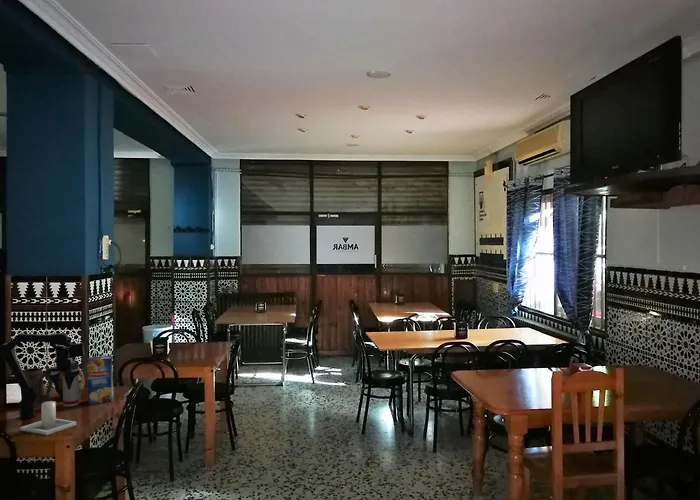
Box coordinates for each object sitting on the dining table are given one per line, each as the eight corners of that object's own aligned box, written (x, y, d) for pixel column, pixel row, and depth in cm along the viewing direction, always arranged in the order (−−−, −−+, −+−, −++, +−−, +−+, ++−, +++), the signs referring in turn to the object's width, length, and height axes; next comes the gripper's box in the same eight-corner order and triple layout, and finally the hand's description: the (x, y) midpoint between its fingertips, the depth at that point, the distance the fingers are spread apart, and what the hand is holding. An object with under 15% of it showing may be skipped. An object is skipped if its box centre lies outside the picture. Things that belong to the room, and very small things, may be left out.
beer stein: (17, 409, 312) (19, 371, 312) (23, 404, 322) (24, 367, 322) (49, 408, 316) (51, 371, 316) (54, 403, 326) (55, 367, 327)
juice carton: (88, 403, 320) (86, 359, 320) (90, 400, 327) (89, 357, 327) (111, 401, 323) (110, 358, 323) (113, 398, 330) (112, 355, 330)
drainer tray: (20, 430, 275) (20, 427, 275) (51, 420, 290) (51, 417, 290) (46, 435, 267) (46, 431, 267) (76, 425, 282) (76, 421, 282)
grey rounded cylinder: (40, 425, 279) (40, 402, 279) (55, 423, 283) (54, 400, 283) (42, 428, 274) (42, 405, 274) (56, 426, 278) (56, 403, 278)
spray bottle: (60, 405, 319) (59, 358, 318) (73, 401, 325) (72, 356, 325) (68, 407, 314) (67, 360, 314) (81, 403, 321) (80, 357, 320)
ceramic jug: (77, 400, 327) (75, 346, 327) (49, 401, 327) (48, 347, 327) (91, 393, 344) (89, 341, 344) (65, 393, 344) (63, 342, 344)
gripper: (88, 356, 304) (89, 386, 305) (63, 353, 313) (64, 383, 313) (69, 360, 295) (70, 391, 295) (44, 357, 303) (45, 388, 303)
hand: (63, 388), depth 302 cm, fingers open, 9 cm apart
